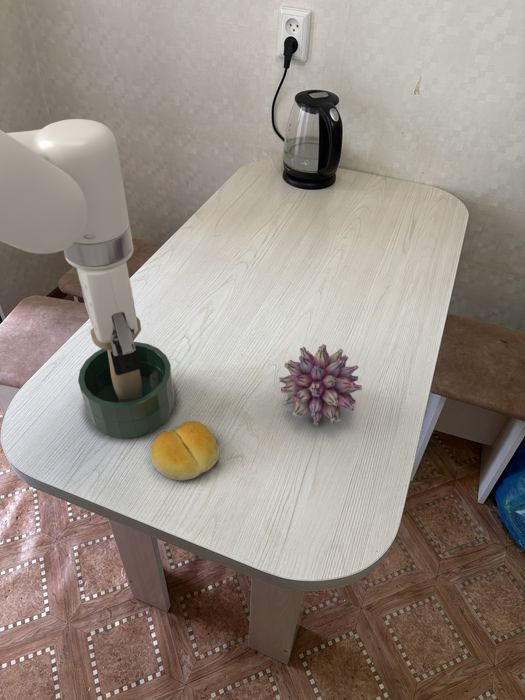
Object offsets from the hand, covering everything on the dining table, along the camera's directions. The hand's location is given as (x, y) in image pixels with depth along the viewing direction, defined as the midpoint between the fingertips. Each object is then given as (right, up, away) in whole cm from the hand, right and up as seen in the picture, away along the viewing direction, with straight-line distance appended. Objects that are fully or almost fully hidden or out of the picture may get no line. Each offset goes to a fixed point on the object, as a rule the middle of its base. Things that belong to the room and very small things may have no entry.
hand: (121, 355), depth 69 cm
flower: (+27, -8, +8) cm, 30 cm away
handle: (0, -7, +7) cm, 10 cm away
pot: (0, -7, +7) cm, 10 cm away
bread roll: (+9, -14, +1) cm, 16 cm away
